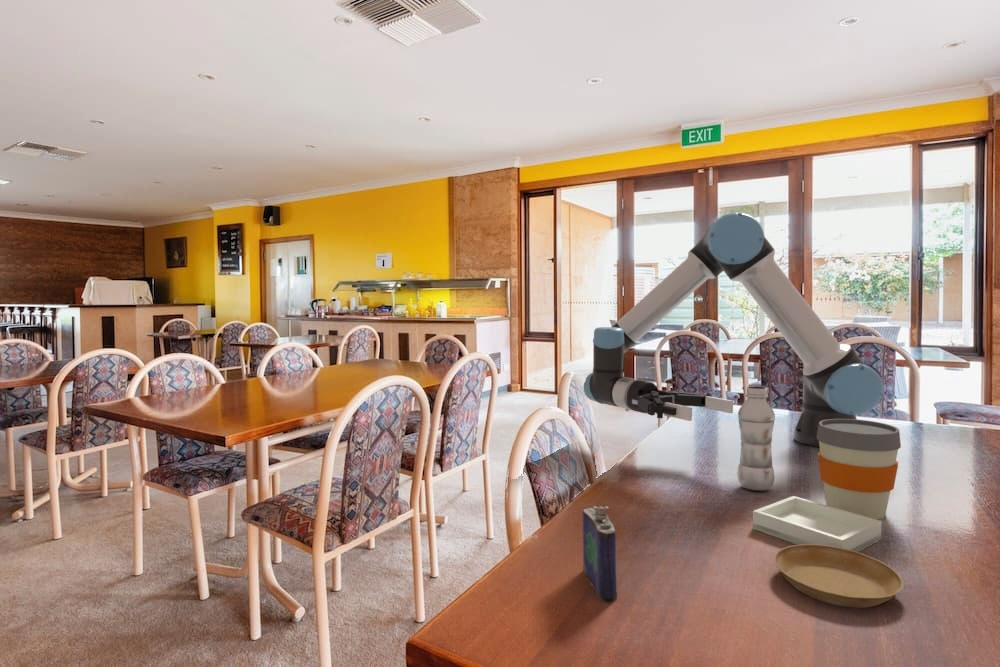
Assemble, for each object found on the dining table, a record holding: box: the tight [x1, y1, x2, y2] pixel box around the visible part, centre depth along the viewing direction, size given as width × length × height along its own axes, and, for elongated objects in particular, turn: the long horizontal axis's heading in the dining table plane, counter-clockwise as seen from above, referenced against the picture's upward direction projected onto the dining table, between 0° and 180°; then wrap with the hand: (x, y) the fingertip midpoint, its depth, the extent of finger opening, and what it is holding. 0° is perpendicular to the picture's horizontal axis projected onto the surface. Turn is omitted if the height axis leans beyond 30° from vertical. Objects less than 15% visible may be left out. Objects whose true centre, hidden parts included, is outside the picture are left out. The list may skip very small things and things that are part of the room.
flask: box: [582, 505, 618, 603], centre depth 78 cm, size 9×3×11 cm, turn 8°
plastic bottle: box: [736, 385, 776, 492], centre depth 115 cm, size 6×7×20 cm
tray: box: [752, 495, 883, 553], centre depth 94 cm, size 12×14×3 cm
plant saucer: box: [773, 544, 904, 609], centre depth 78 cm, size 15×15×3 cm
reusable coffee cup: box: [817, 419, 902, 520], centre depth 103 cm, size 13×13×15 cm
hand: (712, 410), depth 124 cm, fingers open, 13 cm apart
